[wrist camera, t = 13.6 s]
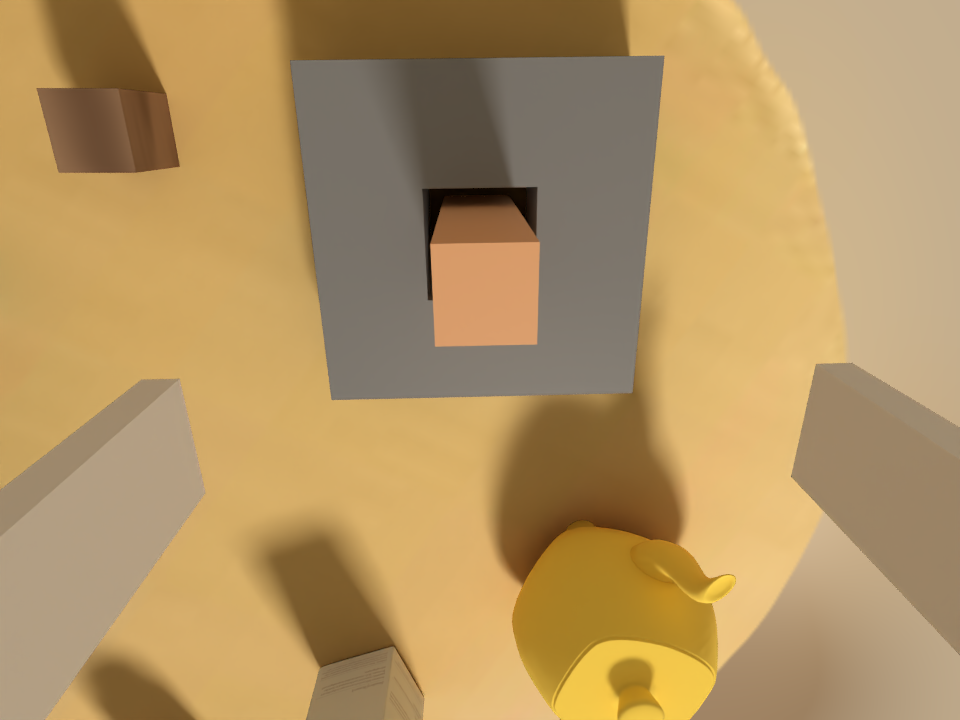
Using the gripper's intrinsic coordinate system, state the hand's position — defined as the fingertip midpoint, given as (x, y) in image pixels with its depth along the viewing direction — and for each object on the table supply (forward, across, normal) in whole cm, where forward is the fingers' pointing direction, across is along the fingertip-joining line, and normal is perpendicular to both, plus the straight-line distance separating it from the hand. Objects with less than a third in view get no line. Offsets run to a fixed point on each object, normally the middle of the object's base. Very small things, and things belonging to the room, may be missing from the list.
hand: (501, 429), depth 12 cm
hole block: (+26, 0, 0) cm, 26 cm away
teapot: (+27, +10, -27) cm, 39 cm away
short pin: (+26, -20, +6) cm, 34 cm away
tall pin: (+26, 0, 0) cm, 26 cm away
